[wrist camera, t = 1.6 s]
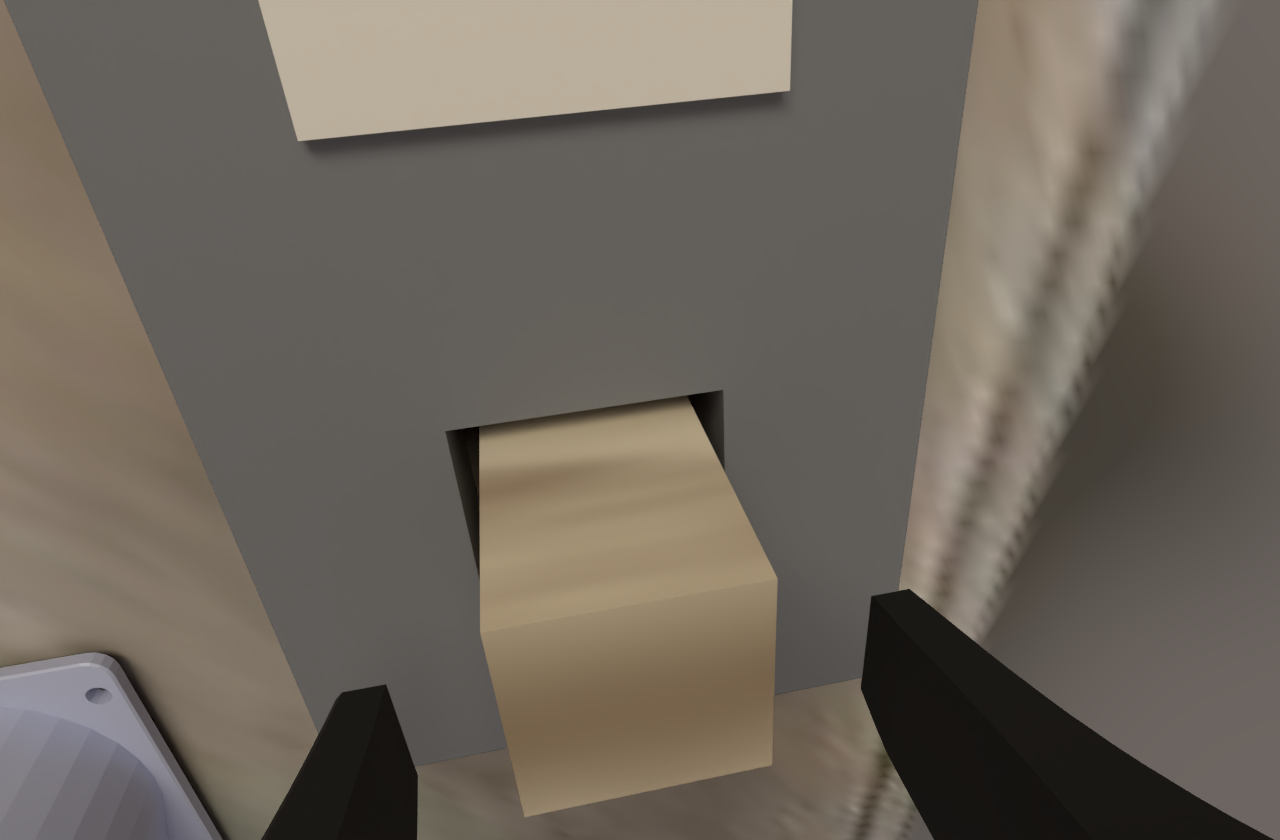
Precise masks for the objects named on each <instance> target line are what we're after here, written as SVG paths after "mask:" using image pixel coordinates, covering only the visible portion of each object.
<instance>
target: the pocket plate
mask: <svg viewBox="0 0 1280 840" xmlns="http://www.w3.org/2000/svg"><path fill="white" fill-rule="evenodd" d="M4 2H5V4H6V6H7V9H8V11H9V13H10V16H11V18H12V20H13V23H14V25H15V27H16V30H17V32H18V34H19V37H20V39H21V41H22V44H23V46H24V48H25V51H26V53H27V55H28V58H29V60H30V62H31V65H32V67H33V69H34V72H35V74H36V76H37V79H38V81H39V83H40V86H41V88H42V90H43V93H44V95H45V97H46V100H47V102H48V104H49V107H50V109H51V111H52V114H53V116H54V118H55V121H56V123H57V125H58V128H59V130H60V132H61V135H62V137H63V139H64V142H65V144H66V146H67V149H68V151H69V153H70V156H71V158H72V160H73V163H74V165H75V167H76V170H77V172H78V174H79V177H80V179H81V181H82V184H83V186H84V188H85V191H86V193H87V195H88V198H89V200H90V202H91V205H92V207H93V209H94V212H95V214H96V216H97V219H98V221H99V223H100V226H101V228H102V230H103V233H104V235H105V237H106V240H107V242H108V244H109V247H110V249H111V251H112V254H113V256H114V258H115V261H116V263H117V265H118V268H119V270H120V272H121V275H122V277H123V279H124V282H125V284H126V286H127V288H128V291H129V293H130V295H131V298H132V300H133V302H134V305H135V307H136V309H137V312H138V314H139V316H140V319H141V321H142V323H143V326H144V328H145V330H146V333H147V335H148V337H149V340H150V342H151V344H152V347H153V349H154V351H155V354H156V356H157V358H158V361H159V363H160V365H161V368H162V370H163V372H164V375H165V377H166V379H167V382H168V384H169V386H170V389H171V391H172V393H173V396H174V398H175V400H176V403H177V405H178V407H179V410H180V412H181V414H182V417H183V419H184V421H185V424H186V426H187V428H188V431H189V433H190V435H191V438H192V440H193V442H194V445H195V447H196V449H197V452H198V454H199V456H200V459H201V461H202V463H203V466H204V468H205V470H206V473H207V475H208V477H209V480H210V482H211V484H212V487H213V489H214V491H215V494H216V496H217V498H218V501H219V503H220V505H221V508H222V510H223V512H224V515H225V517H226V519H227V522H228V524H229V526H230V529H231V531H232V533H233V536H234V538H235V540H236V543H237V545H238V547H239V550H240V552H241V554H242V557H243V559H244V561H245V564H246V566H247V568H248V571H249V573H250V575H251V578H252V580H253V582H254V585H255V587H256V589H257V591H258V594H259V596H260V598H261V601H262V603H263V605H264V608H265V610H266V612H267V615H268V617H269V619H270V622H271V624H272V626H273V629H274V631H275V633H276V636H277V638H278V640H279V643H280V645H281V647H282V650H283V652H284V654H285V657H286V659H287V661H288V664H289V666H290V668H291V671H292V673H293V675H294V678H295V680H296V682H297V685H298V687H299V689H300V692H301V694H302V696H303V699H304V701H305V703H306V706H307V708H308V710H309V713H310V715H311V717H312V720H313V722H314V724H315V727H316V729H317V731H318V734H319V732H320V730H321V728H322V726H323V725H324V723H325V721H326V718H327V716H328V714H329V712H330V710H331V708H332V706H333V704H334V702H335V700H336V699H337V697H338V696H339V695H340V694H341V693H342V692H346V691H352V690H357V689H363V688H368V687H374V686H379V685H385V684H386V685H387V688H388V691H389V694H390V697H391V700H392V703H393V705H394V708H395V711H396V714H397V717H398V720H399V723H400V726H401V729H402V732H403V734H404V737H405V740H406V743H407V746H408V749H409V752H410V755H411V758H412V761H413V763H414V766H419V765H424V764H430V763H435V762H440V761H445V760H450V759H455V758H460V757H465V756H470V755H475V754H480V753H485V752H490V751H495V750H500V749H505V748H508V746H507V742H506V738H505V734H504V730H503V725H502V721H501V717H500V713H499V709H498V705H497V701H496V696H495V692H494V688H493V684H492V680H491V676H490V672H489V667H488V663H487V659H486V655H485V651H484V647H483V643H482V638H481V634H480V506H479V501H478V497H477V492H476V488H475V483H474V478H473V474H472V469H471V464H470V460H469V455H468V451H467V446H466V441H465V437H464V432H463V428H470V427H477V426H484V425H490V424H497V423H504V422H511V421H517V420H524V419H531V418H537V417H544V416H551V415H558V414H564V413H571V412H578V411H584V410H591V409H598V408H605V407H611V406H618V405H625V404H631V403H638V402H645V401H652V400H658V399H665V398H672V397H678V396H685V395H692V394H693V395H694V411H695V413H696V415H697V417H698V419H699V421H700V423H701V425H702V427H703V429H704V431H705V433H706V435H707V437H708V439H709V441H710V443H711V445H712V447H713V449H714V451H715V453H716V455H717V457H718V459H719V461H720V464H721V466H722V468H723V470H724V472H725V474H726V476H727V478H728V480H729V482H730V484H731V486H732V488H733V490H734V492H735V494H736V496H737V498H738V500H739V502H740V504H741V506H742V508H743V510H744V512H745V514H746V516H747V518H748V520H749V522H750V524H751V526H752V528H753V530H754V532H755V534H756V536H757V538H758V540H759V542H760V544H761V546H762V548H763V550H764V552H765V554H766V556H767V558H768V560H769V562H770V564H771V566H772V568H773V570H774V572H775V574H776V576H777V578H778V584H777V617H776V650H775V683H774V695H777V694H782V693H787V692H792V691H797V690H802V689H807V688H812V687H817V686H822V685H827V684H832V683H837V682H842V681H847V680H852V679H857V678H862V674H863V665H864V656H865V647H866V638H867V629H868V621H869V612H870V603H871V596H874V595H879V594H885V593H890V592H896V591H898V590H899V582H900V575H901V568H902V560H903V553H904V545H905V538H906V531H907V523H908V516H909V509H910V501H911V494H912V486H913V479H914V472H915V464H916V457H917V449H918V442H919V435H920V427H921V420H922V412H923V405H924V398H925V390H926V383H927V375H928V368H929V361H930V353H931V346H932V338H933V331H934V324H935V316H936V309H937V301H938V294H939V287H940V279H941V272H942V264H943V257H944V250H945V242H946V235H947V227H948V220H949V213H950V205H951V198H952V191H953V183H954V176H955V168H956V161H957V154H958V146H959V139H960V131H961V124H962V117H963V109H964V102H965V94H966V87H967V80H968V72H969V65H970V57H971V50H972V43H973V35H974V28H975V20H976V13H977V6H978V0H4Z"/></svg>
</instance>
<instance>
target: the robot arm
mask: <svg viewBox="0 0 1280 840" xmlns="http://www.w3.org/2000/svg"><path fill="white" fill-rule="evenodd" d="M99 688H103V689H106V690H102V689H99ZM861 690H862V693H863V695H864V698H865V700H866V703H867V705H868V708H869V711H870V713H871V716H872V718H873V721H874V723H875V726H876V728H877V730H878V733H879V735H880V737H881V740H882V742H883V745H884V747H885V749H886V752H887V754H888V756H889V758H890V760H891V761H892V763H893V765H894V767H895V769H896V771H897V773H898V774H899V776H900V778H901V780H902V782H903V784H904V786H905V787H906V789H907V791H908V793H909V795H910V797H911V798H912V800H913V802H914V804H915V806H916V808H917V809H918V811H919V813H920V815H921V817H922V818H923V820H924V822H925V824H926V825H927V827H928V829H929V831H930V833H931V834H932V837H933V838H934V840H1274V839H1272V838H1270V837H1268V836H1266V835H1264V834H1262V833H1260V832H1259V831H1257V830H1255V829H1253V828H1251V827H1249V826H1248V825H1246V824H1244V823H1242V822H1240V821H1238V820H1236V819H1235V818H1233V817H1231V816H1229V815H1228V814H1226V813H1224V812H1222V811H1221V810H1219V809H1217V808H1215V807H1213V806H1212V805H1210V804H1208V803H1207V802H1205V801H1203V800H1201V799H1200V798H1198V797H1196V796H1195V795H1193V794H1191V793H1190V792H1188V791H1186V790H1185V789H1183V788H1182V787H1180V786H1178V785H1177V784H1175V783H1173V782H1171V781H1170V780H1168V779H1167V778H1165V777H1164V776H1162V775H1160V774H1159V773H1157V772H1155V771H1154V770H1152V769H1150V768H1149V767H1147V766H1146V765H1144V764H1142V763H1140V762H1139V761H1138V760H1136V759H1135V758H1133V757H1132V756H1130V755H1129V754H1127V753H1125V752H1124V751H1122V750H1121V749H1119V748H1118V747H1116V746H1115V745H1113V744H1112V743H1110V742H1109V741H1107V740H1106V739H1105V738H1103V737H1102V736H1100V735H1099V734H1097V733H1096V732H1094V731H1093V730H1092V729H1090V728H1088V727H1087V726H1086V725H1084V724H1083V723H1081V722H1080V721H1079V720H1077V719H1076V718H1074V717H1072V716H1071V715H1070V714H1069V713H1067V712H1066V711H1064V710H1063V709H1062V708H1060V707H1059V706H1057V705H1056V704H1055V703H1053V702H1052V701H1051V700H1049V699H1048V698H1047V697H1045V696H1044V695H1043V694H1041V693H1040V692H1039V691H1037V690H1036V689H1035V688H1033V687H1032V686H1031V685H1030V684H1028V683H1027V682H1026V681H1024V680H1023V679H1022V678H1020V677H1019V676H1018V675H1016V674H1015V673H1014V672H1012V671H1011V670H1010V669H1008V668H1007V667H1006V666H1005V665H1003V664H1002V663H1001V662H1000V661H998V660H997V659H996V658H994V657H993V656H992V655H991V654H989V653H988V652H987V651H986V650H984V649H983V648H982V647H981V646H979V645H978V644H977V643H976V642H974V641H973V640H972V639H971V638H969V637H968V636H967V635H966V634H964V633H963V632H962V631H961V630H960V629H958V628H957V627H956V626H955V625H953V624H952V623H951V622H950V621H948V620H947V619H946V618H945V617H944V616H942V615H941V614H940V613H939V612H937V611H936V610H935V609H934V608H932V607H931V606H930V605H929V604H927V603H926V602H925V601H924V600H922V599H921V598H920V597H919V596H917V595H916V594H915V593H914V592H912V591H911V590H910V589H907V590H901V591H896V592H890V593H885V594H879V595H874V596H871V603H870V612H869V621H868V629H867V638H866V647H865V656H864V665H863V674H862V682H861ZM417 794H418V775H417V772H416V769H415V766H414V763H413V761H412V758H411V755H410V752H409V749H408V746H407V743H406V740H405V737H404V734H403V732H402V729H401V726H400V723H399V720H398V717H397V714H396V711H395V708H394V705H393V703H392V700H391V697H390V694H389V691H388V688H387V685H386V684H385V685H379V686H374V687H368V688H363V689H357V690H352V691H346V692H342V693H341V694H340V695H339V696H338V697H337V699H336V700H335V702H334V704H333V706H332V708H331V710H330V712H329V714H328V716H327V718H326V721H325V723H324V725H323V726H322V728H321V730H320V732H319V734H318V736H317V738H316V740H315V742H314V744H313V746H312V748H311V750H310V752H309V754H308V756H307V758H306V760H305V762H304V764H303V765H302V767H301V769H300V771H299V773H298V775H297V777H296V779H295V780H294V782H293V784H292V786H291V788H290V790H289V792H288V793H287V795H286V797H285V799H284V800H283V802H282V804H281V806H280V808H279V809H278V811H277V813H276V815H275V816H274V818H273V820H272V822H271V823H270V825H269V827H268V829H267V830H266V832H265V834H264V836H263V837H262V839H261V840H417ZM0 840H222V838H221V836H220V834H219V833H218V831H217V829H216V828H215V826H214V824H213V823H212V821H211V819H210V817H209V816H208V814H207V812H206V811H205V809H204V807H203V806H202V804H201V802H200V800H199V799H198V797H197V795H196V794H195V792H194V790H193V789H192V787H191V785H190V783H189V782H188V780H187V778H186V777H185V775H184V773H183V772H182V770H181V768H180V766H179V765H178V763H177V761H176V760H175V758H174V756H173V755H172V753H171V751H170V749H169V748H168V746H167V744H166V743H165V741H164V739H163V738H162V736H161V734H160V732H159V731H158V729H157V727H156V726H155V724H154V722H153V721H152V719H151V717H150V715H149V714H148V712H147V710H146V709H145V707H144V705H143V704H142V702H141V700H140V698H139V697H138V695H137V693H136V692H135V690H134V688H133V687H132V685H131V683H130V681H129V680H128V678H127V676H126V675H125V673H124V671H123V670H122V668H121V666H120V665H119V663H118V662H117V661H116V660H115V659H114V658H112V657H110V656H108V655H106V654H102V653H83V654H77V655H72V656H66V657H60V658H54V659H49V660H43V661H37V662H31V663H25V664H20V665H14V666H8V667H2V668H0Z"/></svg>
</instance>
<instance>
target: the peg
mask: <svg viewBox="0 0 1280 840" xmlns="http://www.w3.org/2000/svg"><path fill="white" fill-rule="evenodd" d="M479 490H480V634H481V638H482V643H483V647H484V651H485V655H486V659H487V663H488V667H489V672H490V676H491V680H492V684H493V688H494V692H495V696H496V701H497V705H498V709H499V713H500V717H501V721H502V725H503V730H504V734H505V738H506V742H507V746H508V750H509V754H510V759H511V763H512V767H513V771H514V775H515V779H516V783H517V788H518V792H519V796H520V800H521V804H522V808H523V813H524V817H529V816H533V815H538V814H543V813H548V812H552V811H557V810H562V809H567V808H571V807H576V806H581V805H585V804H590V803H595V802H600V801H604V800H609V799H614V798H619V797H623V796H628V795H633V794H638V793H642V792H647V791H652V790H657V789H661V788H666V787H671V786H675V785H680V784H685V783H690V782H694V781H699V780H704V779H709V778H713V777H718V776H723V775H728V774H732V773H737V772H742V771H747V770H751V769H756V768H761V767H766V766H770V765H772V749H773V716H774V683H775V650H776V617H777V584H778V578H777V576H776V574H775V572H774V570H773V568H772V566H771V564H770V562H769V560H768V558H767V556H766V554H765V552H764V550H763V548H762V546H761V544H760V542H759V540H758V538H757V536H756V534H755V532H754V530H753V528H752V526H751V524H750V522H749V520H748V518H747V516H746V514H745V512H744V510H743V508H742V506H741V504H740V502H739V500H738V498H737V496H736V494H735V492H734V490H733V488H732V486H731V484H730V482H729V480H728V478H727V476H726V474H725V472H724V470H723V468H722V466H721V464H720V461H719V459H718V457H717V455H716V453H715V451H714V449H713V447H712V445H711V443H710V441H709V439H708V437H707V435H706V433H705V431H704V429H703V427H702V425H701V423H700V421H699V419H698V417H697V415H696V413H695V411H694V409H693V407H692V405H691V403H690V401H689V399H688V397H687V395H685V396H678V397H672V398H665V399H658V400H652V401H645V402H638V403H631V404H625V405H618V406H611V407H605V408H598V409H591V410H584V411H578V412H571V413H564V414H558V415H551V416H544V417H537V418H531V419H524V420H517V421H511V422H504V423H497V424H490V425H484V426H479Z"/></svg>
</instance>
